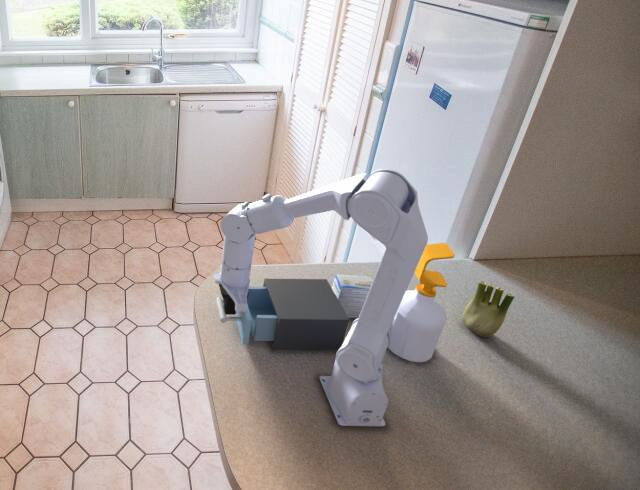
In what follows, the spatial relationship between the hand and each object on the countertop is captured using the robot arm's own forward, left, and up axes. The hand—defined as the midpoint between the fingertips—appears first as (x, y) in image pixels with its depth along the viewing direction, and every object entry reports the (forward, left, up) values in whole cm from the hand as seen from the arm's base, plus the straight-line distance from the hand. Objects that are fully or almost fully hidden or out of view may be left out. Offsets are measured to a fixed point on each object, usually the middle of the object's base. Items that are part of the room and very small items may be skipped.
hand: (229, 312), depth 95 cm
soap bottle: (-4, -36, -5) cm, 37 cm away
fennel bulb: (0, -53, -5) cm, 53 cm away
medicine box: (+5, -28, -5) cm, 29 cm away
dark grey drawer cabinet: (0, -15, -4) cm, 16 cm away
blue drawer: (0, -6, -4) cm, 7 cm away
